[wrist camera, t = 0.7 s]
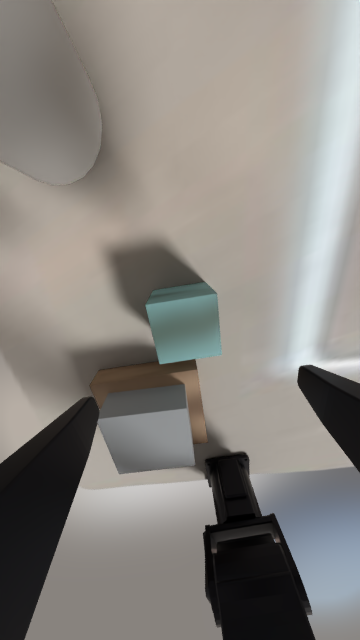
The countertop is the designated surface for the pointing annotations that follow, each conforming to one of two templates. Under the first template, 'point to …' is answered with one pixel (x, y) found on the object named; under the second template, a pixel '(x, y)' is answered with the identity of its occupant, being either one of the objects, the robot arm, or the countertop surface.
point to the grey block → (148, 429)
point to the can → (44, 96)
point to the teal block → (184, 322)
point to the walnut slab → (152, 378)
